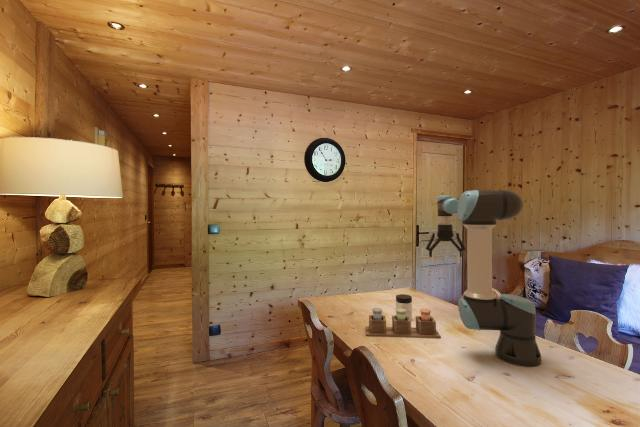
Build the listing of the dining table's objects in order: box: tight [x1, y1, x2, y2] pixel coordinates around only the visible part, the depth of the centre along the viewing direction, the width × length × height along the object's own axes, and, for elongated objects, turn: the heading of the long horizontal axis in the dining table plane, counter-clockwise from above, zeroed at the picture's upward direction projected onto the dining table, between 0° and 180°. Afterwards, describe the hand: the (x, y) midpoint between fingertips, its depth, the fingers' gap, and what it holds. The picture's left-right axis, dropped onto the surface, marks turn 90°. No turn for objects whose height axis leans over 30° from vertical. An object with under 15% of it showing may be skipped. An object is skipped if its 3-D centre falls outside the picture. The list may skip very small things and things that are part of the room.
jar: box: [395, 294, 413, 322], centre depth 167 cm, size 9×8×12 cm
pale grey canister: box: [371, 307, 383, 320], centre depth 150 cm, size 5×5×7 cm
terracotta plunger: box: [419, 308, 432, 321], centre depth 147 cm, size 5×5×7 cm
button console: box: [365, 314, 442, 339], centre depth 148 cm, size 10×33×7 cm, turn 84°
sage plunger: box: [395, 308, 406, 320], centre depth 148 cm, size 5×5×7 cm
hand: (445, 263), depth 173 cm, fingers open, 13 cm apart
